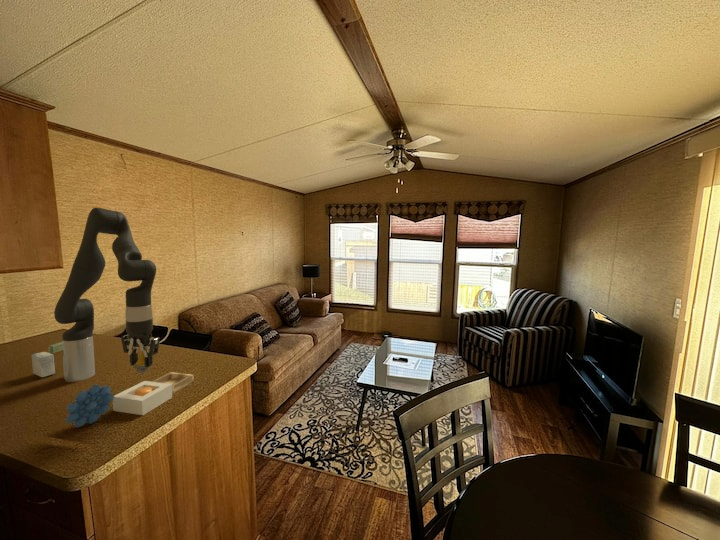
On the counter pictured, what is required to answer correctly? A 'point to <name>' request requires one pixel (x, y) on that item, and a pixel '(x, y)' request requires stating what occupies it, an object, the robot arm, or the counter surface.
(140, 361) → the drill bit
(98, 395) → the grapes
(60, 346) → the medication box
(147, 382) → the frame
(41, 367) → the medicine box
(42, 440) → the counter surface
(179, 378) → the tray
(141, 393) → the button
